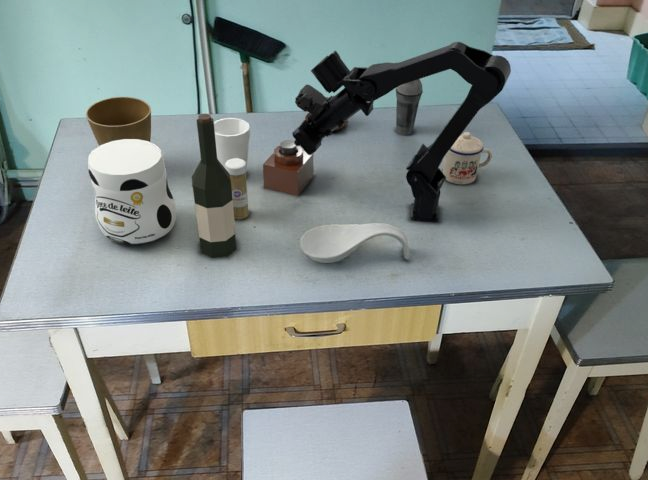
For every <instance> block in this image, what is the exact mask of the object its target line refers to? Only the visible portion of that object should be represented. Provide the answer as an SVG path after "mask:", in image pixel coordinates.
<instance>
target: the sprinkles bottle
mask: <svg viewBox="0 0 648 480" xmlns="http://www.w3.org/2000/svg"><path fill="white" fill-rule="evenodd" d="M225 168H226V170H227V171H228V173H229V174H230V179H231V187H232V199H233V211H234V220H244V219H247V218H248V217H249V215H250V211H249V197H248V196H249V195H248V183H247V172H246V162H245V161H244V160H242V159H238V158H234V159H230V160H228V161H227V162H226V163H225Z"/></svg>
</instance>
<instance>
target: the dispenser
mask: <svg viewBox="0 0 648 480" xmlns="http://www.w3.org/2000/svg"><path fill="white" fill-rule="evenodd" d="M262 170H263V172H262V173H263V174H262V175H263V188H264V189H266V190H271V191H276V192H280V193H283V194H288V195H292V196H296V197H298V196H299V195H300V194H301V192H302V191H303V190H304V189H305V187H306V186H307V185H308V184H309V182H310V181H311V180H312V179H313V178H314V153H313V154H312V155H308V154H307V153H306V152H305V151H304V149H303V148H302V147H301V146H297V153H296V154H295V155H292V156H285V155H282V154H281V153H280V145H277V146H276V147H275V148H274V149H273V153H272V154H271V155H270V156H269V157H268V158H267V160H265V162H264V163H263V164H262Z"/></svg>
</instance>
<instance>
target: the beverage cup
mask: <svg viewBox="0 0 648 480" xmlns="http://www.w3.org/2000/svg"><path fill="white" fill-rule="evenodd" d="M423 93H424V91H423V83H422V81H421V79H418V80H415V81H412V82H408V83H405V84H402V85H400V86H398V87H396V88H395V96H396V97H395V98H396V112H395V113H396V114H395V115H396V118H395V119H396V120H395V128H396V133H397V134H399V135H402V136H408V135H411V134H412V133H413V131H414V127H415V122H416V117H417V113H418V109H419V104H420V101H421V98H422V94H423Z"/></svg>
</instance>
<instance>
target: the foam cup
mask: <svg viewBox="0 0 648 480" xmlns="http://www.w3.org/2000/svg"><path fill="white" fill-rule="evenodd" d="M250 126H251V124H249V123H248V121H247V120H244V119H242V118H237V117H224V118H220V119H217V120H215V121H214V130H215V141H216V151H217V159H218V160H219V162H220V163H221V164H222V165H223V166H224V168H225V163H226V162H227V161H228V160H230V159H234V158H238V159H242V160H244V161H245V162H246V173H247V172H248V171H247V170H248V158H249V145H250V138H251V127H250ZM225 169H226V168H225Z"/></svg>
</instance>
